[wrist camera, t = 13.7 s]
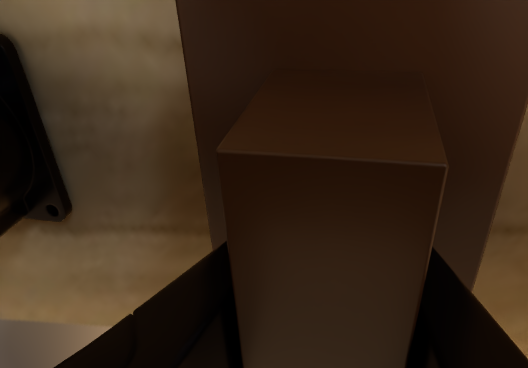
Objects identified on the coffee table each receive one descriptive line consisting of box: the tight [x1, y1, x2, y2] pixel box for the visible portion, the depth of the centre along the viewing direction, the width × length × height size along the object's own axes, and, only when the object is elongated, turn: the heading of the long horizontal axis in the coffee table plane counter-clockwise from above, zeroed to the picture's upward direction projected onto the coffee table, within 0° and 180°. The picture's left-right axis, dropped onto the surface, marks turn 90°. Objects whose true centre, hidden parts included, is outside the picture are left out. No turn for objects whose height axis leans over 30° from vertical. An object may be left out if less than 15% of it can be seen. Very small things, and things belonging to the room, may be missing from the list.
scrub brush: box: [176, 0, 528, 368], centre depth 8 cm, size 10×6×6 cm, turn 3°
